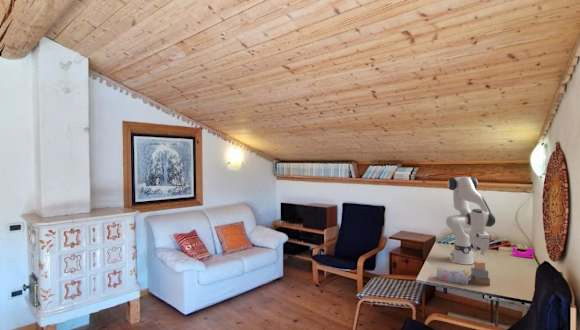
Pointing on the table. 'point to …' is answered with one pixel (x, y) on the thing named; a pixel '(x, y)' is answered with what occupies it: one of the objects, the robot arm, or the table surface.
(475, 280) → the tower bottom
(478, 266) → the terracotta cube
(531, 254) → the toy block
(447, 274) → the pencil case
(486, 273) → the tower top
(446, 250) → the table surface
